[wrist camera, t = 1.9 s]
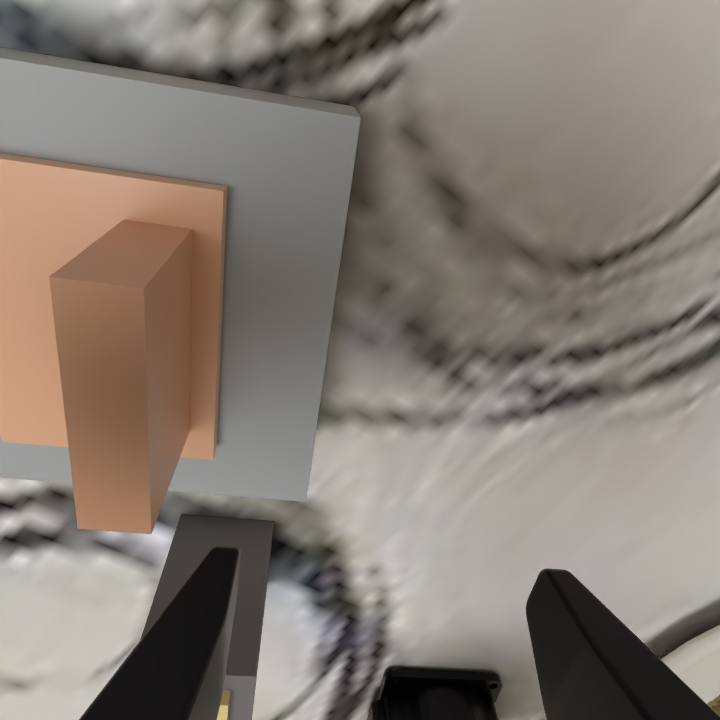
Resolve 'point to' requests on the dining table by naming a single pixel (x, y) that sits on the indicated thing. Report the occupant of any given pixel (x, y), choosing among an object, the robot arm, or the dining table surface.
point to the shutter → (111, 327)
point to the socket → (242, 240)
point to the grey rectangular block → (255, 547)
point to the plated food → (699, 666)
